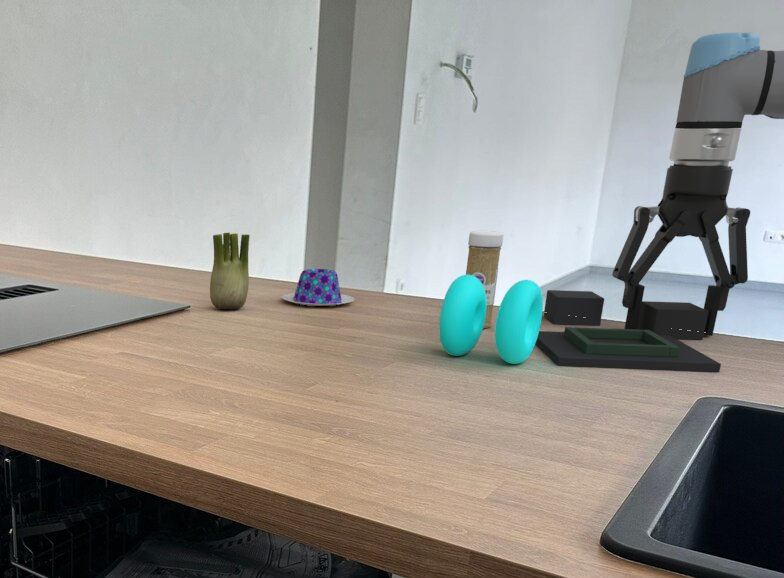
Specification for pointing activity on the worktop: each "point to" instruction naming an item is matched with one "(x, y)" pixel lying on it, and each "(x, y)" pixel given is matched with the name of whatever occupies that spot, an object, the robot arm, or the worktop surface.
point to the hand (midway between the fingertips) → (667, 332)
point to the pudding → (318, 289)
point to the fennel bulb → (229, 271)
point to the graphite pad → (573, 307)
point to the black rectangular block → (673, 319)
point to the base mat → (622, 350)
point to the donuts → (512, 325)
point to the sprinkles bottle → (485, 264)
